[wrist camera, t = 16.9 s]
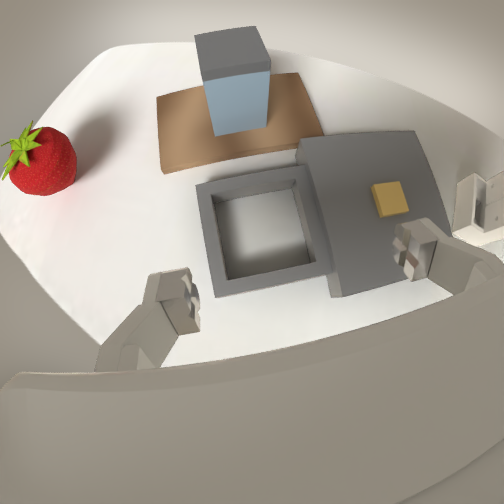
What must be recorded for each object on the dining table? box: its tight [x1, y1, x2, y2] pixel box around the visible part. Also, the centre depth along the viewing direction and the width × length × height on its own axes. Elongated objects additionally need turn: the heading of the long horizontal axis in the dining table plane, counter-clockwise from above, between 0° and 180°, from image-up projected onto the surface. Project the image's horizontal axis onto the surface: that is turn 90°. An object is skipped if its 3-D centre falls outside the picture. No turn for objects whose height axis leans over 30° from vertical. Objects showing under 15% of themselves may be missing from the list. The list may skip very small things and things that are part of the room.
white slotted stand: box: [452, 171, 504, 247], centre depth 19 cm, size 4×10×9 cm, turn 158°
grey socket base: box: [195, 131, 453, 298], centre depth 21 cm, size 19×12×4 cm, turn 102°
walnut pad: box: [157, 73, 324, 174], centre depth 23 cm, size 14×8×1 cm, turn 102°
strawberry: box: [1, 121, 77, 196], centre depth 18 cm, size 6×8×10 cm
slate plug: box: [195, 26, 271, 137], centre depth 19 cm, size 4×4×8 cm
